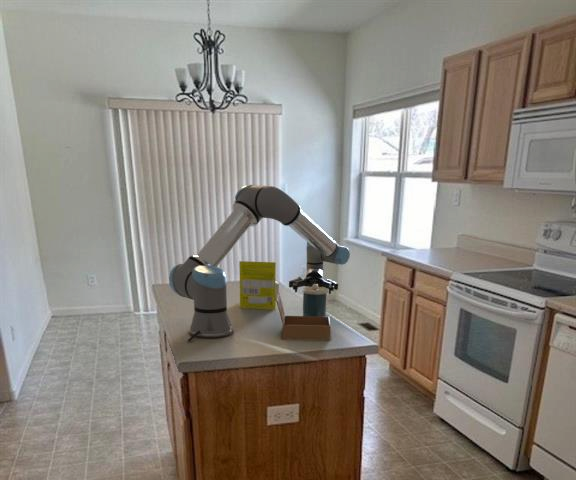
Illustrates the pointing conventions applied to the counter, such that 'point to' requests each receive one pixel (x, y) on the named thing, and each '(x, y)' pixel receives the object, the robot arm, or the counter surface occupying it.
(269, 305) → the food package
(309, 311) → the cookie jar
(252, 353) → the counter surface
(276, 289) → the lumpy-topped squat cylinder
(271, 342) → the counter surface
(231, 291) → the counter surface
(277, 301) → the flap
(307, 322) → the carton
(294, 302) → the counter surface
